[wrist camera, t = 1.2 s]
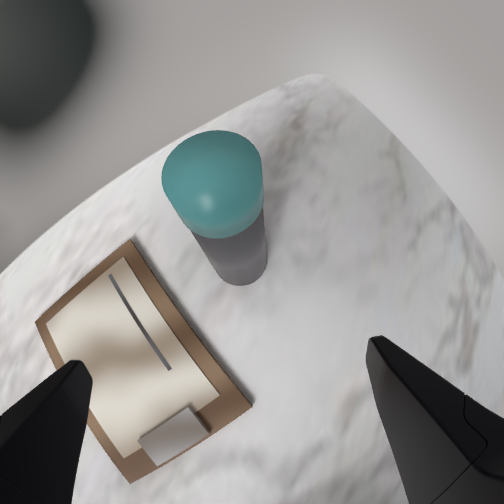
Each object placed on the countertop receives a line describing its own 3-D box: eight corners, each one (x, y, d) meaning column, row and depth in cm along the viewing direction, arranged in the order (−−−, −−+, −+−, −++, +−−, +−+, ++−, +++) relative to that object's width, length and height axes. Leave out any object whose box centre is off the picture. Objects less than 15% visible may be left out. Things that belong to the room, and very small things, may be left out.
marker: (279, 263, 24) (283, 172, 12) (235, 298, 23) (196, 234, 12) (243, 221, 25) (218, 114, 14) (200, 253, 24) (142, 164, 13)
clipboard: (252, 405, 20) (251, 408, 19) (132, 481, 18) (127, 485, 17) (132, 241, 25) (127, 236, 24) (38, 323, 23) (31, 320, 22)
